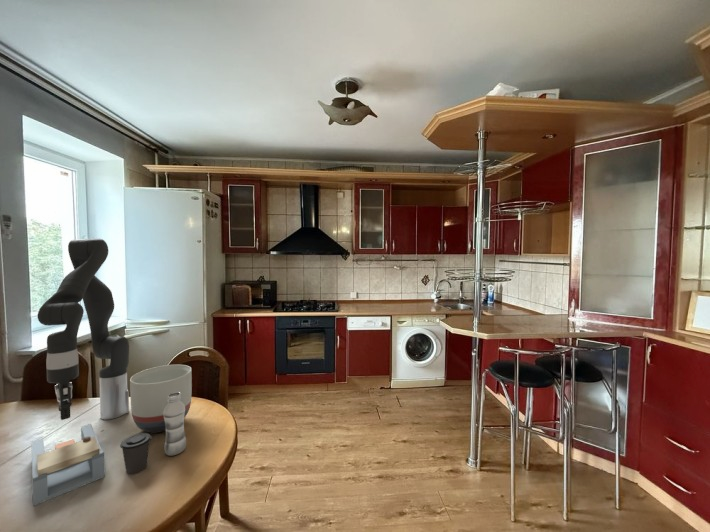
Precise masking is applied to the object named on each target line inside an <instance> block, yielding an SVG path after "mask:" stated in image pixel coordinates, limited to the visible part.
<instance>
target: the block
mask: <svg viewBox="0 0 710 532" xmlns="http://www.w3.org/2000/svg"><path fill="white" fill-rule="evenodd" d="M73 443H76V440H75V438H72V439H69V440H65V441H63V442H60V443H57V444H54V450H55V449H58V448H61V447H64V446H67V445H70V444H73Z"/></svg>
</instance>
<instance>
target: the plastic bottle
mask: <svg viewBox="0 0 710 532" xmlns="http://www.w3.org/2000/svg"><path fill="white" fill-rule="evenodd" d="M180 399H181V397H180V393H179V392H176V393H172V394H169V395H168V402H169V403H168V404H167V406H166V407H165V409H164V412H163V416H164V420H165V428H166V431H165V440H164V447H163V449H164V454H165V455H167V456H170V457H171V456H172V457H173V456H177V455H179V454H181V453H183V452H184V450H185V449H186V447H187V437H186V434H185V427H184V426H185V424H184V423H185V418H184V415H185V406H184V404H183V403H182V402H181V401H180Z"/></svg>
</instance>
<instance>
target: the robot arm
mask: <svg viewBox="0 0 710 532" xmlns="http://www.w3.org/2000/svg"><path fill="white" fill-rule="evenodd" d="M67 246H68V247H67V248H68V249H67V251H68V255H69V258H70V261H71V265H72V267H73V270H72V271H70V272H69V273H68V274H66V276H64V278H63V279H62V281H61V283H60V285H59V286H58V289H57V290H56V292H55V293H53V295H51V297H49V298H48V299H47V300H46V301H45V302H44V303H43V304H42V305H41V306H40V308H39V310H38V312H37V319H38V320H37V321H38V322H39V323H40V324H41V325H42V326H43V325H44V326H63V325H64V326H65V328H64V330H61V331H56V332H52V333H50V334H49V335H47V338H46V360H45V361H46V362H45V363H46V365H45V366H46V382H47V383H49V384H56V385H54V391H55V396H56V400H57V401H56V402H57V403H58V411H59V412H60V413H59V414H60V420H61V421H63V420H64V421H65V420H67V419H69V418H71V406H72V405H73V403H72V398H73V384H72V383H73V382H72V381H71V380H74V379H77V378H78V377H79V375H80V368H79V367H80V364H79V358H80V357H79V351H78V333H79V330H80V325H81V322H82V319H83V316H84V311H85V312H86V316H87V321H88V324H89V331H90V336H91V346H92V347H91V348H92V352H93V354H94V356H95V357H96V358H97V359H101V360H110V361H109V365H107V366H104V367H102V368H101V369H100V370H99V373H98V376H99V411H100V412H99V414H100V415H99V416H100V419H101V420H113V419H116V418H119V417H122V416H124V415H126V414H128V413H130V396H129V395H130V394H129V392H130V390H129V389H128V366H129V361H130V359H129V357H130V356H129V355H130V343H129V340H128V338H127V337H126V336H111V334H110V332H109V329H108V325H109V321H110V319H111V317H112V314H113V312H114V310H115V301H114V298H113V293H112V290H111V289H110V288H109V287H108V286H107V285H106V284H105V282H103V281H102V280H100V279H99V278H98V277H97V276H96V274H97V273H98V271H99V270H100V269H101V267H102V266H103V264H105V262H106V260H107V258H108V256H109V246H108V243H107V242H106V241H105V240H104V239H102V238H97V237H96V238H79V239H72V240H70V241H69V243H68V245H67ZM81 301H82V302H83V304H84V308H83V305H81V303H80V302H81Z"/></svg>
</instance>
